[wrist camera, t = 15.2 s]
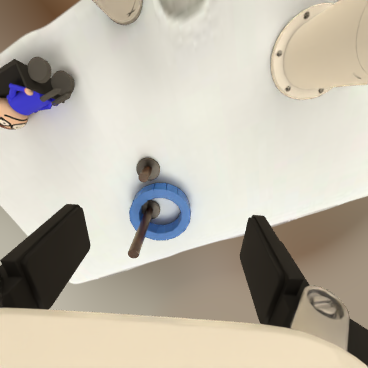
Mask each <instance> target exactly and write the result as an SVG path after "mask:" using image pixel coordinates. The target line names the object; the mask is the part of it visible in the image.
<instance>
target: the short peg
mask: <svg viewBox="0 0 368 368" xmlns="http://www.w3.org/2000/svg"><path fill="white" fill-rule="evenodd" d="M137 173H138V175H139V180H140V181H141V182H146V181H147V180H148V181H149V180H154V179H156V178H157V177H158V175H159V173H160V166H159V164H158V163H157V162H156V161H155V160H154V159H151V158H144V159H142V160H141V161H140V162H139V163H138V164H137Z"/></svg>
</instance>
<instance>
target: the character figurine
mask: <svg viewBox="0 0 368 368" xmlns="http://www.w3.org/2000/svg"><path fill="white" fill-rule="evenodd" d="M50 77H51V66H50V64H49V63H48V62H47V61H45V60H44V59H42V58H40V57H34V58H32V59H31V60H30V62H29V64H28V66H27V65H25V64H23V63H21V62H19V61H17V60H15V59H14V60H12V61H11V62H9V63H8V64H6V65H5V66H3V67H2V68H0V127H2V128H6V129H19V128H22V127H23V126H25V125H26V123H27V121H28V115H30V114H32V113H33V112H34V113H36V112H37V111H38V110H45V109H51V106H52V104H53V105H54V106H57V105H58V104H60V103H61V102H62V103H64V101H65V100H67V99H69V98H70V95H71V93H72V92H73V90H74V80H73V78H72V76H71V75H69V74H68V73H66V72H64V71H57V72H56V73H55V74H54V75H53V76H52V78H50Z"/></svg>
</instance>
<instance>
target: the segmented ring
mask: <svg viewBox="0 0 368 368" xmlns="http://www.w3.org/2000/svg"><path fill="white" fill-rule="evenodd" d="M154 198H166V199H169V200H171V201H173V202H174V203H175V204H176V205H178V207H179V209H180V211H181V213H180V215H179V217H178V218H177V219H176V220H175V221H174V222H172V223H169V224H166V225H157V224H154V223H151V222H150V223H149V226H148V229H147V232H146V235H145V237H147V238H150V239H153V240H155V239H156V240H166V239H167V240H169V239H172V238H175V237H176V236H179V235H180V234H181V233H182V232H184V231H185V230H186V228H187V226H188V224H189V223H190V215H191V211H190V204H189V201H188V199H187V197H186V195H185V194H184V193H183V192H182V191H181V190H180V189H179V188H177V187H176V186H173V185H170V184H168V183H167V185H166V183H153V184H150V185H148V186H145V187H143V188H142V189H141V190H140V191H139V192H138V193H137V194H136V196H135V198H134V200H133V203H132V205H131V208H130V211H129V214H130V221H131V223H132V225H133V227H134V228H135V230H136V231H137V230H138V227H139V225H140V222H141V220H142V217H143V213H142V205H143V204H144V203H146V202H147V201H148V200H151V199H154Z"/></svg>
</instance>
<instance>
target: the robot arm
mask: <svg viewBox="0 0 368 368" xmlns="http://www.w3.org/2000/svg"><path fill="white" fill-rule="evenodd" d="M304 16H305V19H304ZM276 53H278V56H277V55H276ZM271 74H272V77H273V81H274V83H275V85H276V87H277V88H278V89H279V90H280V92H282V93H283V94H284V95H286V96H288V97H290V98H293V99H299V100H300V99H303V100H305V99H312V98H315V97H318V96H321V95H322V94H324V93H326V92H328V91H329V90H331V89H332V88H333V87H342V86H354V85H367V84H368V0H339V1H338V2H336V3H335V4H332V3H322V4H318V5H314V6H311V7H309V8H308V9H306V10H304V11H302V12H301V13H299V14H298V15H297V16H296V17H294V18H293V19H292V20H291V21H290V22H289V23H288V24H287V25H286V27H285V28H284V29H283V30H282V32H281V34H280V35H279V37H278V39H277V41H276V44H275V46H274V49H273V53H272V57H271ZM286 87H287V90H285V88H286ZM318 90H319V92H318ZM89 249H90V241H89V236H88V231H87V226H86V222H85V217H84V212H83V209H82V208H81V207H80V206H79V205H75V204H66V205H65V206H64V207H63V208H61V209H60V210H59V211H58V212H57V213H56V214H54V215H53V216H52V217H51V218H50V219H48V220H47V221H46V222H45V223H44V224H43V225H41V226H40V227H39V228H38V229H37V230H36V231H34V232H33V233H32V234H31V235H30V236H28V237H27V238H26V239H25V240H24V241H23V242H22V243H20V244H19V245H18V246H17V247H15V248H14V249H13V250H12V251H11V252H10V253H8V255H6V256H5V257H4V258H3V259H1V260H0V261H1V263H2V265H1V266H0V368H368V330H367V329H365V328H364V327H362V326H361V325H359V324H358V323H356V322H354V321H353V320H351V319H350V317H349V312H348V310H347V308H346V306H345V305H344V303H342V301H341V300H340V299H339V298H338V297H337V296H336V295H335V294H333V293H332V292H330V291H328V290H327V289H324V288H322V287H319V286H315V285H314V286H310V285H309V284H308V282H307V281H306V279H305V277H304V276H303V274H302V273H301V271H300V270H299V268H298V266H297V265H296V263H295V262H294V260H293V259H292V257H291V255H290V254H289V252H288V251H287V249H286V248H285V246H284V244H283V243H282V242H281V241H279V239H278V237H277V236H276V234H275V232H274V231H273V229H272V228H271V226H270V224H269V223H268V221H267V220H266V218H265V217H264V216H259V215H253V216H252V218H249V219H248V223H247V227H246V231H245V235H244V239H243V244H242V248H241V252H240V260H241V263H242V267H243V270H244V273H245V276H246V280H247V283H248V286H249V289H250V292H251V296H252V299H253V302H254V305H255V309H256V312H257V315H258V319H259V321H260V323H261V324H252V323H240V322H230V321H216V320H202V319H188V318H174V317H160V316H142V315H129V314H114V313H98V312H81V311H64V310H48V309H49V308H50V307H51V306H52V305H53V303H54V302H55V300H56V299H57V297H58V296H59V294H60V293H61V292H62V290H63V289H64V287H65V285H66V284H67V282H68V281H69V280H70V278H71V277H72V275H73V274H74V272H75V271H76V269H77V268H78V266H79V265H80V263H81V262H82V260H83V259H84V257H85V256H86V254H87V253H88V251H89ZM263 324H264V325H263Z"/></svg>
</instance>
